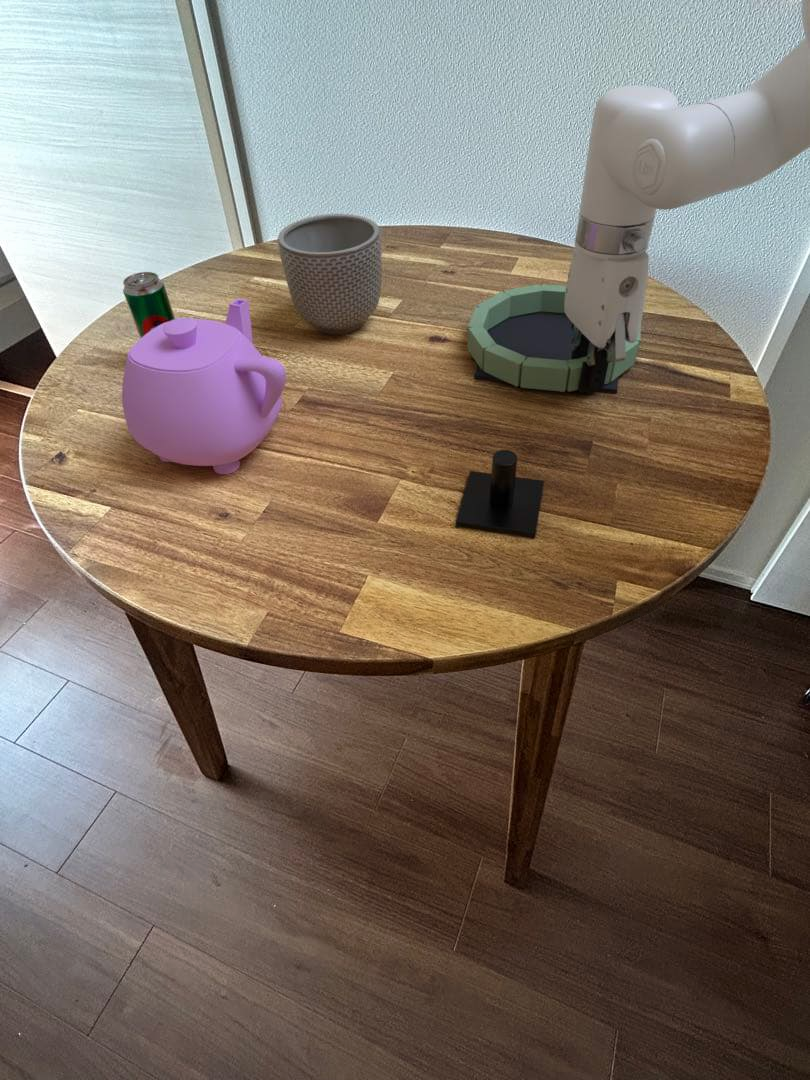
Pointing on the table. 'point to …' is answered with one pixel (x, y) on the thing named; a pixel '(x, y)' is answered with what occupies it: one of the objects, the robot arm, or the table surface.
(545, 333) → the mat
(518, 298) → the hoop
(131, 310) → the soda can
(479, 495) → the post
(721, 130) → the robot arm
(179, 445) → the teapot
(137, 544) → the table surface
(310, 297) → the planter
